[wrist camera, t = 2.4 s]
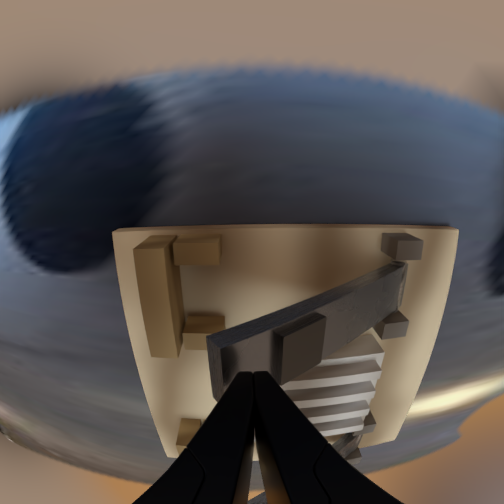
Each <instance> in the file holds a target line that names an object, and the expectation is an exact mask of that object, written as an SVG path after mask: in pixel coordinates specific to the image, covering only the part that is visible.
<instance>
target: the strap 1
mask: <svg viewBox="0 0 504 504" xmlns="http://www.w3.org/2000/svg"><path fill="white" fill-rule="evenodd" d="M407 270H408V263H407V262H406V261H405V260H404V261H395V260H394V259H391V263H389V264H387V265H385V266H382V267H380V268H378V269H376V270H374V271H371V272H369V273H367V274H365V275H362V276H360V277H358V278H356V279H353V280H351V281H349V282H346V283H344V284H342V285H339V286H337V287H335V288H332V289H330V290H327V291H325V292H323V293H320V294H318V295H315V296H313V297H310V298H308V299H305V300H303V301H300V302H298V303H295V304H293V305H290V306H288V307H285V308H282V309H280V310H277V311H275V312H272V313H269V314H267V315H264V316H261V317H259V318H256V319H253V320H250V321H248V322H245V323H242V324H239V325H236V326H234V327H231V328H228V329H225V330H222V331H219V332H216V333H213V334H210V335H207V336H206V343H207V352H208V362H209V370H210V379H211V387H212V395H213V398H214V399H215V400H216V401H217V402H218V401H219V399H220V398H221V396H222V395H223V393H224V392H225V391H226V389H227V388H228V386H229V385H230V383H231V382H232V380H233V379H234V377H235V376H236V374H237V373H238V372H239V371H251V372H252V373H253V372H254V371H268V372H269V373H270V374H271V376H272V377H273V378H274V379H275V381H276V382H277V383H278V384H279V385H280V386H282V385H284V384H285V383H287V382H289V381H291V380H293V379H294V378H296V377H298V376H300V375H301V374H303V373H305V372H306V371H308V370H310V369H311V368H313V367H315V366H316V365H318V364H320V363H321V360H323V359H324V358H326V357H328V356H329V355H331V354H332V353H334V352H335V351H337V350H339V349H340V348H342V347H343V346H345V345H346V344H348V343H349V342H351V341H352V340H354V339H355V338H357V337H358V336H360V335H361V334H363V333H364V332H366V331H367V330H369V329H370V328H371V327H373V326H374V325H376V324H377V323H379V322H380V321H381V320H383V319H384V318H385V317H387V316H388V315H390V314H391V313H392V312H397V311H398V310H399V307H400V306H401V304H402V299H403V294H404V288H405V282H406V276H407Z"/></svg>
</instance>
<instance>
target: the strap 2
mask: <svg viewBox="0 0 504 504" xmlns="http://www.w3.org/2000/svg"><path fill="white" fill-rule="evenodd" d="M362 436H363V434H361V435H356V436H353V435H352V432H349V433H346V434H344V435H343V436H342V437H341V438H340V439H338V440H337V441H336V442H335V443H333V444H332V446H333V447H334V448H335V449H336V450H337V451H338V452H339V453H340V454H341V455H342V456H343V457H344V458H345V457H346V456H348V455H349V454H350V453H351V452H353V451H355V449H356V448H357V447H358V445H359V443H360V441H361V438H362ZM247 504H268V503H267V498H266V493H265V492H263V493H261V494H259V495H258V496H256V497H254V498H252V499H251V500H249V501H248V502H247Z"/></svg>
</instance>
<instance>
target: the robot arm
mask: <svg viewBox="0 0 504 504" xmlns="http://www.w3.org/2000/svg"><path fill="white" fill-rule="evenodd" d="M254 428H255V431H254ZM254 441H255V442H256V449H257V454H258V459H259V464H260V469H261V474H262V479H263V484H264V489H265V493H266V498H267V503H268V504H404V503H402V502H400V501H399V500H397V499H396V498H394V497H393V496H392V495H390V494H389V493H387V492H386V491H384V490H383V489H382V488H380V487H379V486H378V485H376V484H375V483H373V482H372V481H371V480H369V479H368V478H367V477H366V476H364V475H363V474H362V473H361V472H359V471H358V470H357V469H356V468H355V467H353V466H352V465H351V464H350V463H349V462H348V461H347V460H346V459H345V458H344V457H343V456H342V455H341V454H340V453H339V452H338V451H337V450H336V449H335V448H334V447H333V446H332V445H331V444H330V443H328V441H327V440H326V438H325V437H324V436H323V435H322V434H321V433H320V432H319V431H318V430H317V428H316V427H315V426H314V425H313V424H312V423H311V422H310V420H309V419H308V418H307V417H306V416H305V415H304V414H303V412H302V411H301V410H300V409H299V408H298V407H297V406H296V404H295V403H294V402H293V401H292V400H291V398H290V397H289V396H288V395H287V394H286V393H285V391H284V390H283V389H282V388H281V387H280V385H279V384H278V383H277V382H276V381H275V379H274V378H273V377H272V376H271V374H270V373H269V372H268V371H254V372H253V373H252V372H251V371H239V372H238V373H237V374H236V376H235V377H234V379H233V380H232V382H231V383H230V385H229V386H228V388H227V389H226V391H225V392H224V393H223V395H222V396H221V398H220V399H219V401H218V402H217V404H216V405H215V407H214V408H213V409H212V411H211V412H210V414H209V415H208V417H207V418H206V419H205V421H204V422H203V424H202V425H201V426H200V428H199V429H198V431H197V432H196V433H195V435H194V436H193V438H192V439H191V440H190V442H189V443H188V444H187V446H186V448H184V450H183V451H182V452H181V454H180V455H179V456H178V458H177V459H176V460H175V461H174V463H173V464H172V465H171V466H170V467H169V469H168V470H167V471H166V472H165V473H164V474H163V475H162V476H161V477H160V478H159V479H158V480H157V481H156V482H155V483H154V484H153V485H152V486H151V487H150V488H149V489H148V490H147V491H146V492H144V494H142V495H141V496H140V497H139V498H138V499H137V500H135V501H134V502H133V503H132V504H247V502H248V494H249V486H250V478H251V469H252V461H253V452H254Z"/></svg>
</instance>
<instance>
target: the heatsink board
mask: <svg viewBox="0 0 504 504" xmlns="http://www.w3.org/2000/svg"><path fill="white" fill-rule="evenodd" d="M458 234H459V230H458V229H456V228H453V227H450V226H422V225H379V224H238V225H193V226H162V227H136V228H119V229H117V230H115V231H113V232H112V236H113V244H114V252H115V260H116V267H117V274H118V280H119V286H120V292H121V297H122V303H123V308H124V313H125V318H126V322H127V327H128V332H129V336H130V340H131V344H132V349H133V353H134V357H135V360H136V364H137V368H138V372H139V375H140V379H141V382H142V386H143V389H144V392H145V395H146V399H147V402H148V405H149V408H150V411H151V414H152V417H153V420H154V423H155V426H156V428H157V431H158V434H159V437H160V439H161V442H162V445H163V447H164V450H165V452H166V455H167V457H173V458H178V456H179V455H180V454H181V452H182V451H183V450H184V448H186V446H187V444H188V443H189V442H190V440H191V439H192V438H193V436H194V435H195V433H196V432H197V431H198V429H199V428H200V426H201V425H202V424H203V422H204V421H205V419H206V418H207V417H208V415H209V414H210V412H211V411H212V409H213V408H214V407H215V405H216V404H217V401H216V400H215V399H214V398H213V395H212V387H211V379H210V370H209V362H208V352H207V343H206V336H207V335H210V334H213V333H216V332H219V331H222V330H225V329H228V328H231V327H234V326H236V325H239V324H242V323H245V322H248V321H250V320H253V319H256V318H259V317H261V316H264V315H267V314H269V313H272V312H275V311H277V310H280V309H282V308H285V307H288V306H290V305H293V304H295V303H298V302H300V301H303V300H305V299H308V298H310V297H313V296H315V295H318V294H320V293H323V292H325V291H327V290H330V289H332V288H335V287H337V286H339V285H342V284H344V283H346V282H349V281H351V280H353V279H356V278H358V277H360V276H362V275H365V274H367V273H369V272H371V271H374V270H376V269H378V268H380V267H382V266H385V265H387V264H389V263H391V259H394V260H395V261H404V260H405V261H406V262H407V263H408V270H407V276H406V282H405V288H404V294H403V299H402V304H401V306H400V307H399V310H398V311H397V312H392V313H391V314H390V315H388V316H387V317H385V318H384V319H383V320H381V321H380V322H379V323H377V324H376V325H374V326H373V327H371V328H370V329H369V330H367V331H366V332H364V333H363V334H361V335H360V336H358V337H357V338H355V339H354V340H352V341H351V342H349V343H348V344H346V345H345V346H343V347H342V348H340V349H339V350H337V351H335V352H334V353H332V354H331V355H329V356H328V357H326V358H324V359H323V360H321V363H320V364H318V365H316V366H315V367H313V368H311V369H310V370H308V371H306V372H305V373H303V374H301V375H300V376H298V377H296V378H294V379H293V380H291V381H289V382H287V383H285V384H284V385H282V386H280V387H281V388H282V389H283V390H284V391H285V393H286V394H287V395H288V396H289V397H290V398H291V400H292V401H293V402H294V403H295V404H296V406H297V407H298V408H299V409H300V410H301V411H302V412H303V414H304V415H305V416H306V417H307V418H308V419H309V420H310V422H311V423H312V424H313V425H314V426H315V427H316V428H317V430H318V431H319V432H320V433H321V434H322V435H323V436H324V437H325V438H326V440H327V441H328V443H330V444H331V445H332V444H333V443H335V442H336V441H337V440H338V439H340V438H341V437H342V436H343V435H344V434H346V433H349V432H352V435H353V436H356V435H361V434H363V436H362V438H361V441H360V443H359V445H358V447H357V448H356V449H355V451H353V452H351V453H350V454H349V455H348V456H346V457H345V459H346V460H347V461H348V462H349V463H350V464H351V465H353V464H357V463H359V462H360V460H361V458H362V456H361V454H360V451H359V448H363V447H368V446H372V445H376V444H380V443H384V442H388V441H392V440H395V438H396V436H397V434H398V432H399V430H400V428H401V426H402V424H403V422H404V420H405V418H406V416H407V414H408V411H409V409H410V407H411V405H412V402H413V400H414V398H415V395H416V393H417V391H418V388H419V386H420V383H421V381H422V378H423V375H424V373H425V370H426V367H427V364H428V362H429V359H430V356H431V353H432V350H433V347H434V344H435V340H436V337H437V334H438V330H439V327H440V323H441V320H442V316H443V312H444V308H445V304H446V300H447V296H448V291H449V287H450V282H451V277H452V272H453V267H454V261H455V255H456V249H457V242H458ZM254 431H255V428H254ZM258 460H259V459H258V454H257V449H256V442H255V441H254V452H253V461H258Z"/></svg>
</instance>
